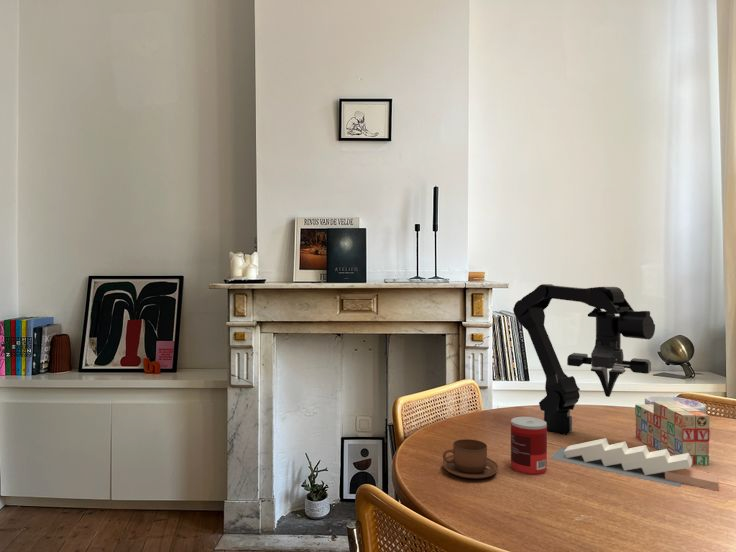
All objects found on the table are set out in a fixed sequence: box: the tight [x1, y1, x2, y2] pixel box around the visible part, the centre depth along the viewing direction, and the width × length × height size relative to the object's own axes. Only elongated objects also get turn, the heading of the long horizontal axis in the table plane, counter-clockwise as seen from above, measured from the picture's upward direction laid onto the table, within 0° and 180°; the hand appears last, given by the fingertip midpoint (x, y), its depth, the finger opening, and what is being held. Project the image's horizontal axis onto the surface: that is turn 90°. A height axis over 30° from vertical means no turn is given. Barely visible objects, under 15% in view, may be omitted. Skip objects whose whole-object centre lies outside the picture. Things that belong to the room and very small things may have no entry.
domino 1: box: [564, 437, 610, 458], centre depth 114 cm, size 2×5×9 cm
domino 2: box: [582, 441, 629, 462], centre depth 112 cm, size 2×5×9 cm
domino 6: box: [665, 468, 719, 491], centre depth 102 cm, size 2×5×9 cm
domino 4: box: [621, 449, 670, 471], centre depth 107 cm, size 2×5×9 cm
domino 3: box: [601, 444, 650, 466], centre depth 109 cm, size 2×5×9 cm
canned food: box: [510, 416, 548, 476], centre depth 108 cm, size 8×8×11 cm
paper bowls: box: [644, 395, 707, 414], centre depth 142 cm, size 15×15×8 cm
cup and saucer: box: [442, 438, 499, 480], centre depth 107 cm, size 12×12×6 cm
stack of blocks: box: [634, 402, 711, 466], centre depth 122 cm, size 21×6×12 cm, turn 177°
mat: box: [549, 446, 683, 488], centre depth 110 cm, size 26×10×1 cm, turn 53°
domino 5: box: [642, 453, 692, 475], centre depth 104 cm, size 2×5×9 cm
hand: (607, 396), depth 124 cm, fingers closed
